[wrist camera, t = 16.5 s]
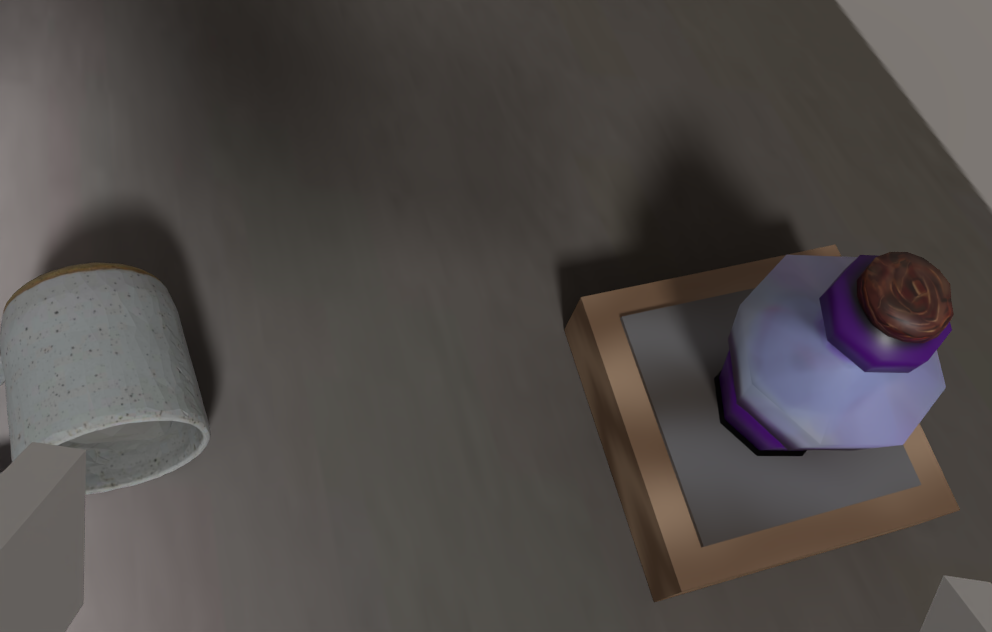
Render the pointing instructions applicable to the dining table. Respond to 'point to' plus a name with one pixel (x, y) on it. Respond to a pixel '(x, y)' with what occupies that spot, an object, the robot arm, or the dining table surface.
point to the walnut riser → (723, 443)
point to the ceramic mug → (102, 373)
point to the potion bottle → (835, 354)
